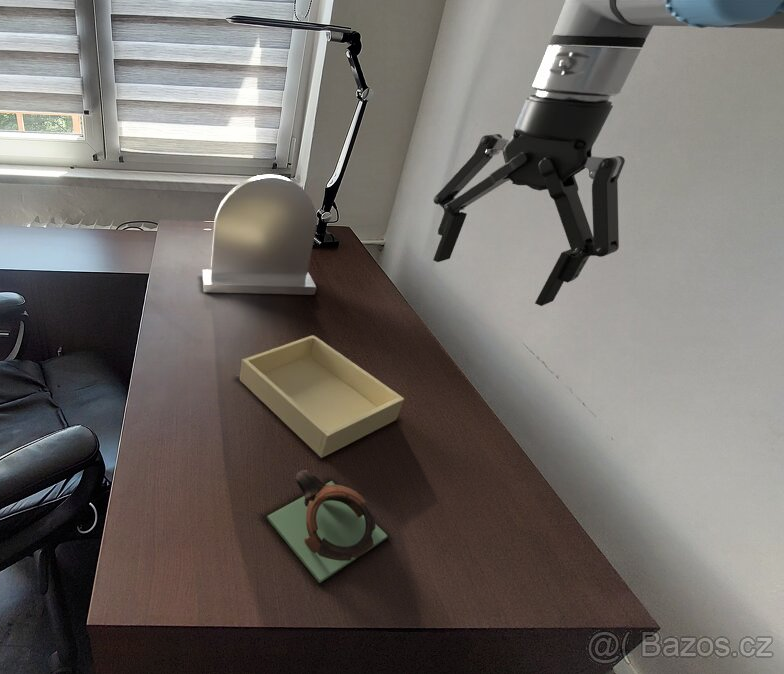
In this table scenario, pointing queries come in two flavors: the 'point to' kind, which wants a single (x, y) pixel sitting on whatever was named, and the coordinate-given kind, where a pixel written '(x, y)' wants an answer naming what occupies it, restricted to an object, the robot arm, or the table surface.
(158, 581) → the table surface
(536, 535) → the table surface
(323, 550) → the pottery mug
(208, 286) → the award
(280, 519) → the mat
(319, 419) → the cream yellow tray
